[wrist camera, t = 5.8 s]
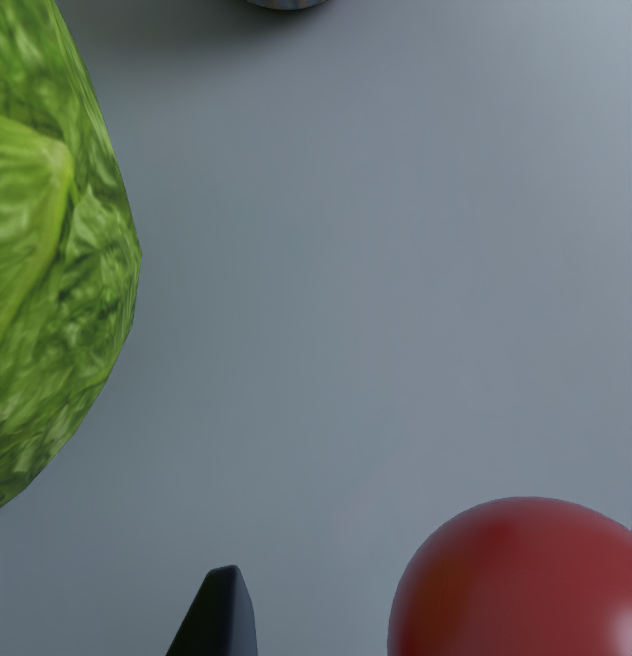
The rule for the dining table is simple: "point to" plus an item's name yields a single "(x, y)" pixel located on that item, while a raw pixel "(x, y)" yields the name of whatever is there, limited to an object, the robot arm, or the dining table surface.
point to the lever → (517, 584)
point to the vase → (286, 3)
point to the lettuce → (55, 243)
